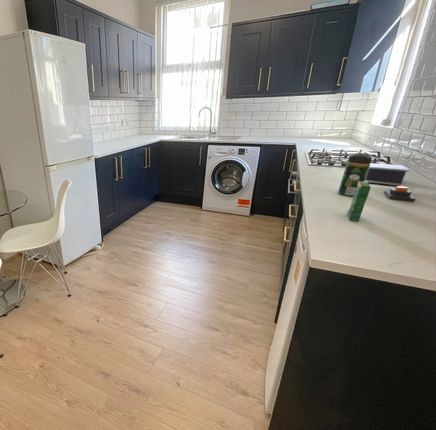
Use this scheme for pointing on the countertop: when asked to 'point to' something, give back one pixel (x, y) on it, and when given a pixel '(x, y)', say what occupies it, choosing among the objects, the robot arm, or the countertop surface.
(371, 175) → the chest
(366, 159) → the coffee jar
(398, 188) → the button
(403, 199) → the control block
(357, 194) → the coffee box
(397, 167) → the lid
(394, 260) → the countertop surface
